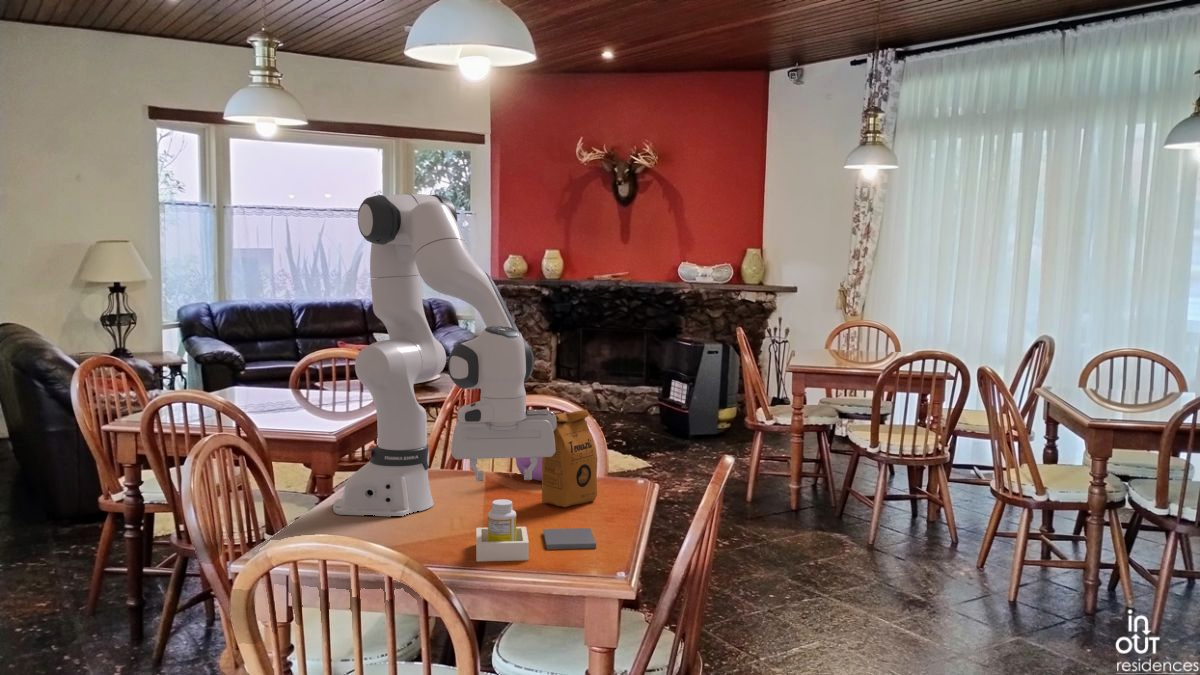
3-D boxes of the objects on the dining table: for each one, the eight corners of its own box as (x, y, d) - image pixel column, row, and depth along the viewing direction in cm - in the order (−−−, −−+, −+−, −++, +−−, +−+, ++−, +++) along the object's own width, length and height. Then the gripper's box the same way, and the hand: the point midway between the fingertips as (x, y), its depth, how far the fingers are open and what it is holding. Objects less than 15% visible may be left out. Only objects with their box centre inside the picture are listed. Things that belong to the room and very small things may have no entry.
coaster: (546, 549, 180) (546, 544, 180) (543, 533, 190) (543, 529, 190) (596, 548, 182) (596, 543, 182) (590, 532, 192) (590, 528, 192)
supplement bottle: (502, 545, 182) (502, 496, 181) (521, 552, 179) (522, 501, 178) (481, 552, 178) (482, 501, 177) (501, 559, 174) (501, 507, 173)
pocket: (476, 561, 173) (476, 543, 172) (476, 544, 183) (476, 527, 182) (528, 560, 174) (528, 542, 174) (525, 543, 184) (525, 526, 184)
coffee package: (603, 502, 215) (605, 411, 212) (562, 512, 206) (564, 417, 204) (575, 493, 222) (577, 405, 220) (536, 502, 214) (537, 411, 211)
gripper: (555, 406, 180) (555, 474, 181) (451, 408, 177) (452, 477, 178) (558, 411, 174) (558, 482, 175) (450, 414, 171) (451, 485, 172)
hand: (503, 479), depth 177 cm, fingers open, 8 cm apart
